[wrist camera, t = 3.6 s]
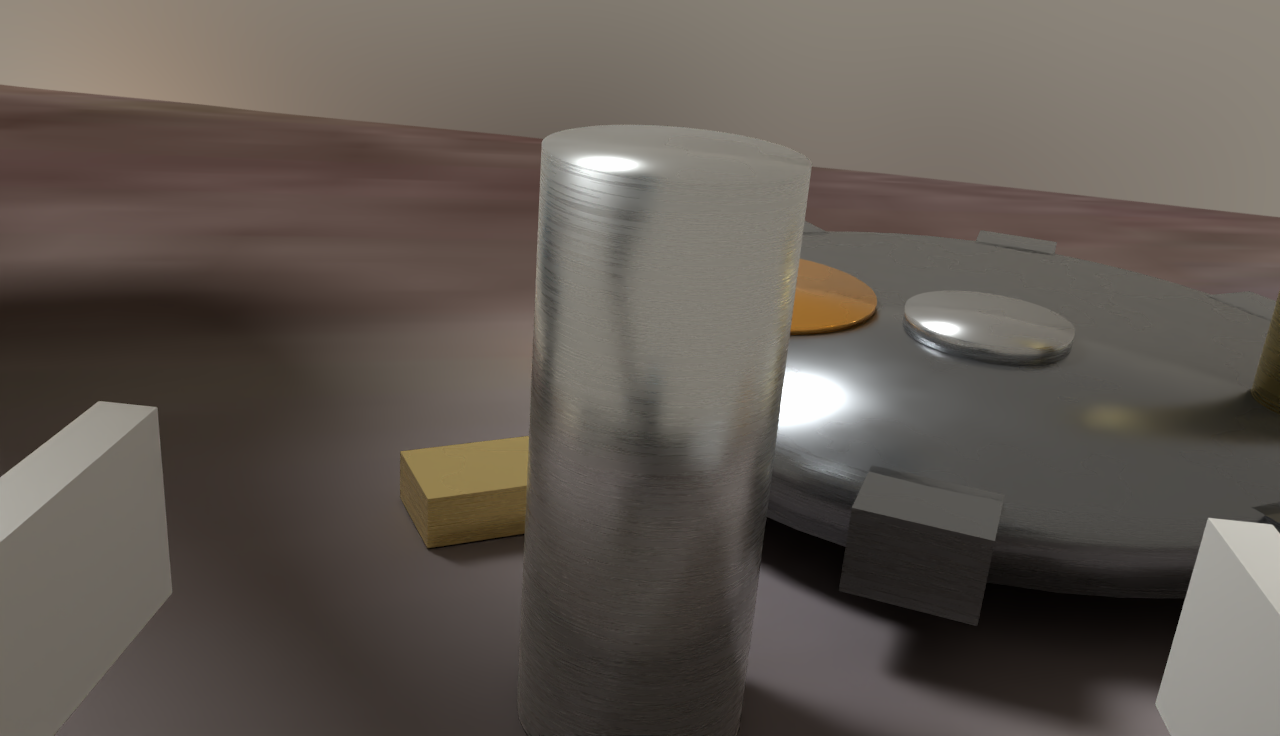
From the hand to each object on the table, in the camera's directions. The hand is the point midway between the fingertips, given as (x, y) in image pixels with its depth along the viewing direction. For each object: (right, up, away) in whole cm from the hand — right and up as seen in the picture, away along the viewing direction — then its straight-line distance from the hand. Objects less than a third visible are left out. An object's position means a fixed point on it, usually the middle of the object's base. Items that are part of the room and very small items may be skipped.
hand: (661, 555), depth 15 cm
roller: (0, -4, +6) cm, 7 cm away
